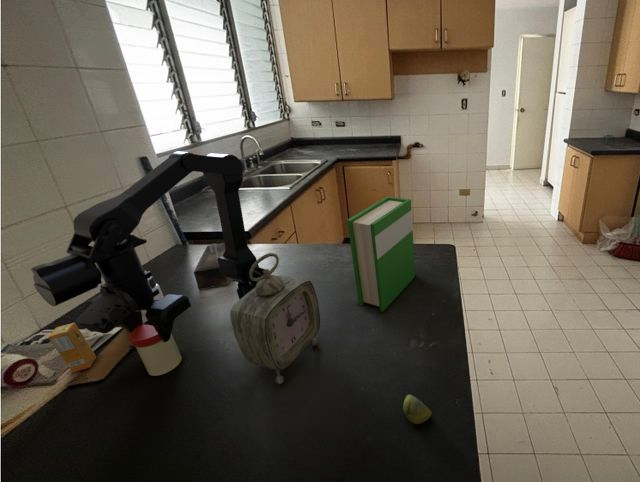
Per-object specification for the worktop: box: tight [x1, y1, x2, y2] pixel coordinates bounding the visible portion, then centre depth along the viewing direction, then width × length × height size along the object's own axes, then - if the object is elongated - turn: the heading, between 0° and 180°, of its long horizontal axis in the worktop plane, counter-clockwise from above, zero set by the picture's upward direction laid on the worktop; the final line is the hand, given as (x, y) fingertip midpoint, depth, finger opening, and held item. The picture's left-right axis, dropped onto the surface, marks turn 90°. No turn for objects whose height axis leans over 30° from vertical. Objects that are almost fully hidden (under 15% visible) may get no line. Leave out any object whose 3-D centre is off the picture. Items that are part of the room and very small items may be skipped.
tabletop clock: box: [230, 252, 321, 385], centre depth 66 cm, size 14×9×25 cm, turn 160°
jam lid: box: [128, 324, 162, 348], centre depth 68 cm, size 6×6×2 cm
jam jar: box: [135, 332, 183, 377], centre depth 69 cm, size 6×6×9 cm
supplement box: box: [47, 322, 97, 373], centre depth 70 cm, size 3×3×10 cm
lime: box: [402, 394, 433, 425], centre depth 56 cm, size 4×5×5 cm
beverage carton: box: [193, 242, 230, 291], centre depth 104 cm, size 8×19×7 cm, turn 20°
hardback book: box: [346, 195, 416, 313], centre depth 88 cm, size 18×7×24 cm, turn 153°
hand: (153, 339), depth 68 cm, fingers closed on jam lid, 6 cm apart
